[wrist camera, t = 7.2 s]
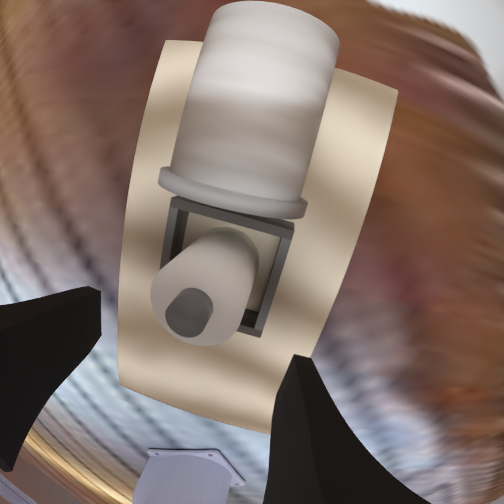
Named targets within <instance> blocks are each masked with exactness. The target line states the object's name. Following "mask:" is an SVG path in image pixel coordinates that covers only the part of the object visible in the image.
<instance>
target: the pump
mask: <svg viewBox="0 0 504 504" xmlns="http://www.w3.org/2000/svg"><path fill="white" fill-rule="evenodd" d="M258 268H259V254H258V251H257V248H256V246H255V244H254V243H253V241H252V240H251V239H250V238H249V237H248V236H247V235H246V234H245V233H243V232H241V231H240V230H237V229H235V228H231V227H217V228H213V229H211V230H209V231H207V232H206V233H204V234H203V235H202V236H201V237H199V238H198V239H197V240H196V241H194V242H193V243H192V244H191V245H190V246H188V247H187V248H186V249H185V250H183V251H182V252H181V253H180V254H179V255H177V256H176V257H175V258H174V259H173V260H171V261H170V262H169V263H168V264H167V265H165V266H164V267H163V268H162V269H161V270H160V271H159V272H158V273H157V275H156V276H155V278H154V280H153V283H152V286H151V292H150V298H151V305H152V308H153V311H154V314H155V316H156V318H157V319H158V321H159V322H160V324H161V325H162V326H163V327H164V328H165V329H166V330H167V331H168V332H169V333H170V334H171V335H173V336H174V337H176V338H177V339H179V340H181V341H183V342H185V343H188V344H192V345H197V346H211V345H216V344H219V343H222V342H224V341H225V340H227V339H229V338H230V337H231V336H232V335H233V334H234V333H235V332H236V330H237V329H238V327H239V325H240V323H241V320H242V317H243V314H244V311H245V308H246V305H247V302H248V299H249V296H250V293H251V290H252V287H253V284H254V281H255V278H256V275H257V272H258Z"/></svg>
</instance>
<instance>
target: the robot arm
mask: <svg viewBox="0 0 504 504" xmlns="http://www.w3.org/2000/svg"><path fill="white" fill-rule="evenodd" d="M101 335H102V333H101V291H99V290H96V289H94V288H92V287H89V286H86V287H80V288H76V289H71V290H67V291H64V292H60V293H56V294H52V295H48V296H44V297H41V298H36V299H32V300H27V301H23V302H18V303H13V304H7V305H0V468H1V469H2V470H3V471H5V472H10V471H12V470H13V467H14V464H15V462H16V459H17V456H18V454H19V451H20V449H21V447H22V444H23V442H24V440H25V438H26V436H27V434H28V432H29V430H30V428H31V427H32V425H33V423H34V421H35V420H36V418H37V416H38V415H39V413H40V411H41V410H42V408H43V407H44V405H45V404H46V402H47V401H48V399H49V398H50V396H51V395H52V394H53V393H54V391H55V390H56V389H57V388H58V387H59V386H60V385H61V383H62V382H63V381H64V380H65V379H66V378H67V377H68V376H69V375H70V374H71V373H72V372H73V370H74V369H75V368H76V367H77V366H78V365H79V364H80V363H81V362H82V361H83V360H84V358H85V357H86V356H87V355H88V354H89V353H90V351H91V350H92V348H93V347H94V346H95V344H96V343H97V341H98V340H99V338H100V337H101ZM147 453H148V454H149V455H150V458H149V460H148V462H147V464H146V466H145V468H144V470H143V472H142V474H141V477H140V479H139V481H138V483H137V485H136V487H135V489H134V492H133V504H226V501H227V496H228V492H229V488H230V486H244V485H245V481H244V480H243V479H242V478H241V477H240V476H239V475H238V474H237V472H236V471H235V470H234V469H233V468H232V467H231V465H230V464H229V463H228V462H227V461H226V459H225V458H224V457H223V456H222V455H221V453H220V452H219V451H217V450H157V449H148V450H147ZM0 495H1V496H2V497H3V498H4V499H5V500H6V501H7V502H9V503H10V504H38V503H37V502H35V501H34V500H32V499H31V498H30V497H28V496H27V495H26V494H24V493H23V492H22V491H21V490H19V489H18V488H17V487H15V486H14V485H13V484H12V483H11V482H9V481H8V480H7V479H6V478H5V477H4V476H3V475H1V474H0ZM0 504H1V503H0ZM263 504H431V503H430V502H428V501H426V500H425V499H423V498H422V497H420V496H419V495H417V494H416V493H414V492H413V491H411V490H410V489H409V488H407V487H406V486H405V485H403V484H402V483H401V482H400V481H399V480H397V479H396V478H395V477H394V476H393V475H392V474H390V473H389V472H388V471H387V470H386V469H385V468H384V467H383V466H382V465H381V464H380V463H379V462H378V461H377V460H376V459H375V458H374V457H373V456H372V455H371V454H370V452H369V451H368V450H367V449H366V448H365V447H364V445H363V444H362V443H361V442H360V440H359V439H358V438H357V437H356V435H355V434H354V433H353V431H352V430H351V429H350V427H349V426H348V424H347V423H346V421H345V420H344V418H343V417H342V415H341V414H340V412H339V410H338V409H337V407H336V405H335V403H334V402H333V400H332V398H331V396H330V394H329V393H328V391H327V389H326V387H325V385H324V383H323V381H322V379H321V377H320V375H319V373H318V371H317V369H316V367H315V365H314V363H313V361H312V359H311V358H309V357H305V356H301V355H297V354H294V355H293V357H292V359H291V362H290V364H289V366H288V369H287V371H286V373H285V376H284V378H283V380H282V382H281V385H280V387H279V389H278V391H277V394H276V398H275V403H274V409H273V414H272V422H271V439H270V456H269V471H268V480H267V485H266V490H265V495H264V500H263Z"/></svg>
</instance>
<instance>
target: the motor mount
mask: <svg viewBox="0 0 504 504" xmlns="http://www.w3.org/2000/svg"><path fill="white" fill-rule="evenodd" d="M339 48H340V41H339V38H338V36H337V35H336V34H335V32H334V31H333V30H332V29H331V28H330V27H329V26H327V25H326V24H325V23H323V22H322V21H320V20H319V19H317V18H315V17H314V16H312V15H310V14H308V13H305V12H303V11H301V10H298V9H295V8H292V7H289V6H285V5H281V4H276V3H271V2H263V1H241V2H234V3H230V4H227V5H224V6H222V7H220V8H218V9H217V10H216V11H215V12H214V14H213V16H212V19H211V22H210V25H209V27H208V30H207V33H206V36H205V39H204V42H195V41H177V40H166V42H165V45H164V48H163V50H162V53H161V57H160V60H159V63H158V66H157V69H156V73H155V76H154V79H153V83H152V86H151V90H150V93H149V97H148V101H147V105H146V109H145V113H144V117H143V121H142V125H141V129H140V134H139V139H138V143H137V148H136V153H135V158H134V163H133V169H132V174H131V180H130V186H129V193H128V200H127V207H126V214H125V222H124V231H123V240H122V250H121V262H120V276H119V296H118V371H119V385H121V386H124V387H126V388H128V389H130V390H133V391H135V392H137V393H140V394H142V395H145V396H147V397H149V398H152V399H154V400H157V401H160V402H162V403H165V404H167V405H170V406H173V407H176V408H178V409H181V410H184V411H187V412H190V413H193V414H196V415H199V416H202V417H205V418H209V419H212V420H215V421H219V422H222V423H226V424H229V425H233V426H237V427H240V428H244V429H248V430H253V431H257V432H261V433H266V434H270V435H271V422H272V414H273V409H274V403H275V398H276V394H277V391H278V389H279V387H280V385H281V382H282V380H283V378H284V376H285V373H286V371H287V369H288V366H289V364H290V362H291V359H292V357H293V355H294V354H297V355H301V356H305V357H309V358H310V356H311V354H312V352H313V349H314V347H315V345H316V343H317V341H318V338H319V336H320V334H321V331H322V329H323V327H324V325H325V322H326V320H327V317H328V315H329V313H330V310H331V308H332V305H333V303H334V301H335V298H336V296H337V293H338V291H339V288H340V285H341V283H342V280H343V278H344V275H345V272H346V270H347V267H348V264H349V262H350V259H351V256H352V253H353V251H354V248H355V245H356V242H357V239H358V236H359V233H360V230H361V228H362V225H363V221H364V218H365V215H366V212H367V209H368V206H369V203H370V200H371V196H372V193H373V190H374V186H375V183H376V180H377V176H378V173H379V169H380V165H381V162H382V158H383V154H384V150H385V147H386V143H387V139H388V135H389V131H390V126H391V122H392V118H393V113H394V109H395V104H396V100H397V95H398V90H395V89H393V88H391V87H388V86H386V85H383V84H381V83H378V82H376V81H373V80H370V79H367V78H365V77H362V76H359V75H356V74H353V73H350V72H347V71H344V70H341V69H338V68H335V65H336V60H337V56H338V52H339ZM217 227H231V228H235V229H237V230H240V231H241V232H243V233H245V234H246V235H247V236H248V237H249V238H250V239H251V240H252V241H253V243H254V244H255V246H256V248H257V251H258V254H259V268H258V272H257V275H256V278H255V281H254V284H253V287H252V290H251V293H250V296H249V299H248V302H247V305H246V308H245V311H244V314H243V317H242V320H241V323H240V325H239V327H238V329H237V330H236V332H235V333H234V334H233V335H232V336H231V337H230V338H229V339H227V340H225V341H224V342H222V343H219V344H216V345H211V346H197V345H192V344H188V343H185V342H183V341H181V340H179V339H177V338H176V337H174V336H173V335H171V334H170V333H169V332H168V331H167V330H166V329H165V328H164V327H163V326H162V325H161V324H160V322H159V321H158V319H157V318H156V316H155V314H154V311H153V308H152V305H151V298H150V292H151V286H152V283H153V280H154V278H155V276H156V275H157V273H158V272H159V271H160V270H161V269H162V268H163V267H164V266H165V265H167V264H168V263H169V262H170V261H171V260H173V259H174V258H175V257H176V256H177V255H179V254H180V253H181V252H182V251H183V250H185V249H186V248H187V247H188V246H190V245H191V244H192V243H193V242H194V241H196V240H197V239H198V238H199V237H201V236H202V235H203V234H204V233H206V232H207V231H209V230H211V229H213V228H217Z"/></svg>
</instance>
